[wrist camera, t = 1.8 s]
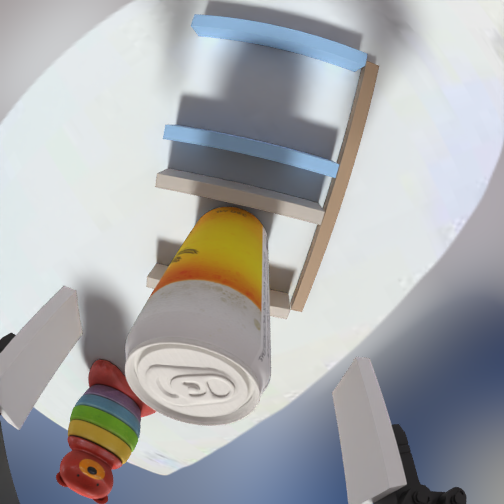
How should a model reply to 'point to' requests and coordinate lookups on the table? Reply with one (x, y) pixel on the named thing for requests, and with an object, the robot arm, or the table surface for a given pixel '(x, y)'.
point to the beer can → (207, 325)
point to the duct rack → (278, 149)
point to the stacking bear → (101, 432)
